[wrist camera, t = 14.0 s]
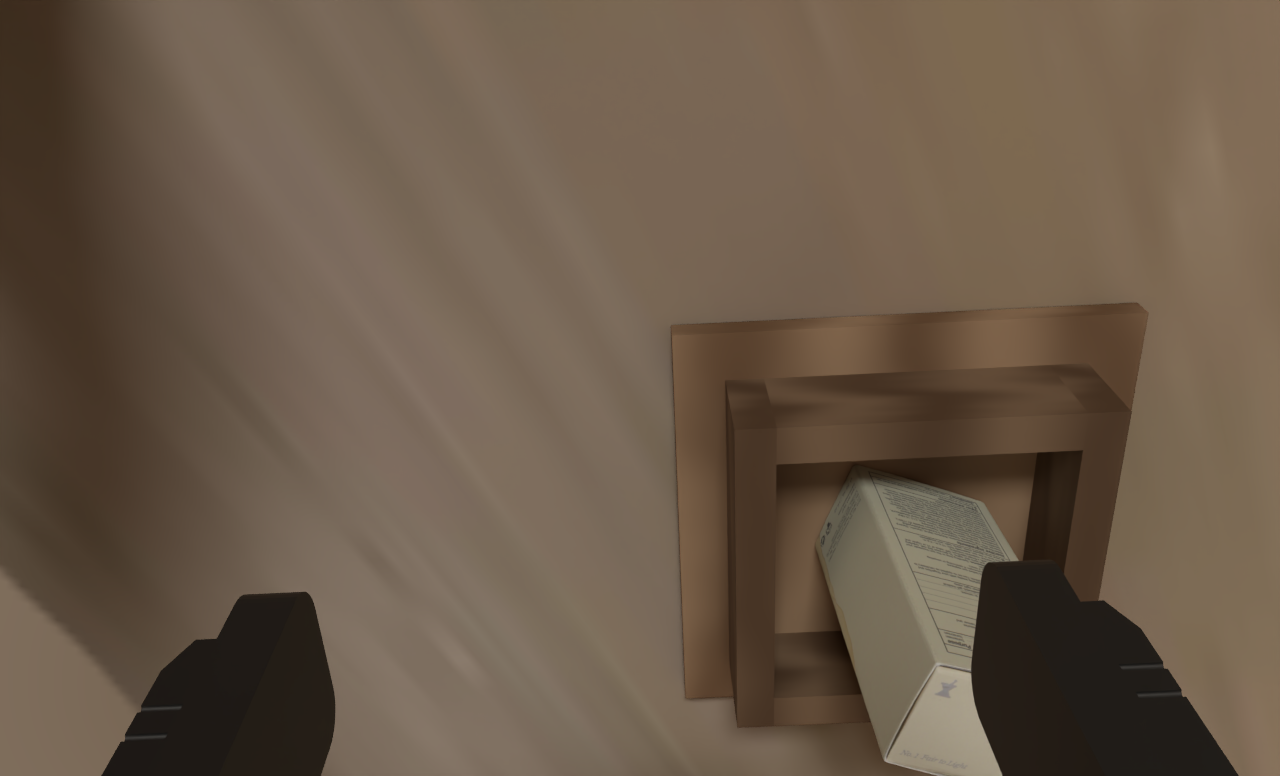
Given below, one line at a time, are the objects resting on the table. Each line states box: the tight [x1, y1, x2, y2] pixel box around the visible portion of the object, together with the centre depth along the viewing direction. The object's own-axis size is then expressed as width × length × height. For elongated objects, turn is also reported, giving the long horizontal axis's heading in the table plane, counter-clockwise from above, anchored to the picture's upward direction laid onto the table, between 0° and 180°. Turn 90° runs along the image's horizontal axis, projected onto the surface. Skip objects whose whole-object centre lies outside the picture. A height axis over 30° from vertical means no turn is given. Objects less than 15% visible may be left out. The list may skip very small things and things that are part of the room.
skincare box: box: [815, 465, 1019, 776], centre depth 39 cm, size 6×4×12 cm
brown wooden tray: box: [671, 303, 1148, 728], centre depth 43 cm, size 18×18×5 cm
